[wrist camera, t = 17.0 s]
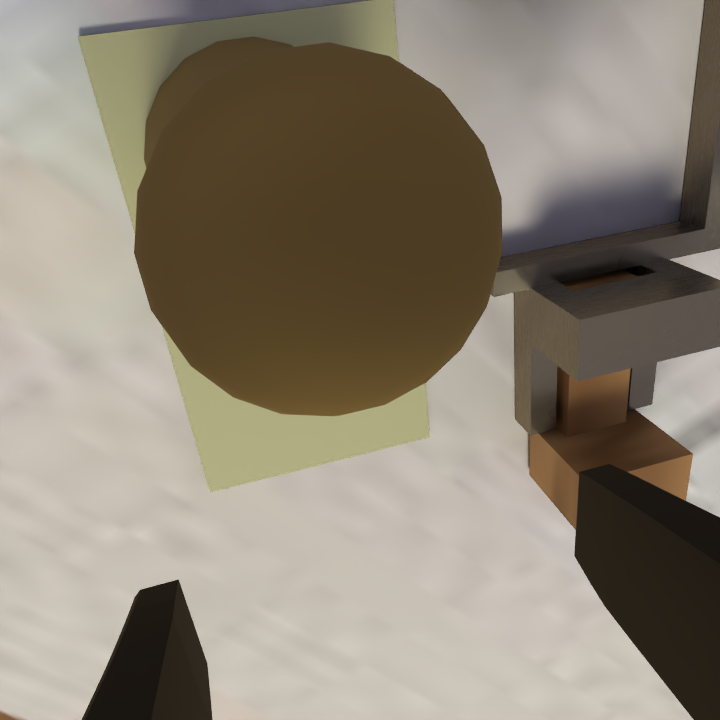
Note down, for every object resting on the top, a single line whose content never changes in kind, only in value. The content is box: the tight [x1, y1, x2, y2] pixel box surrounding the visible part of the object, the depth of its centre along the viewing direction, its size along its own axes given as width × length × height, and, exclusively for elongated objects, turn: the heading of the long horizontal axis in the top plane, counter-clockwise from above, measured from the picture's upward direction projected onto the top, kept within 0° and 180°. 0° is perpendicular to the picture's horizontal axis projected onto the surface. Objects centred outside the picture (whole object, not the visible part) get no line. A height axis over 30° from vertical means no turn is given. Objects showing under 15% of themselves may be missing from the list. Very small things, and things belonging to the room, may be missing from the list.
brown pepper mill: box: [134, 37, 502, 416], centre depth 12 cm, size 6×6×11 cm
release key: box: [529, 269, 693, 530], centre depth 22 cm, size 4×8×4 cm, turn 7°
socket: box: [491, 0, 720, 436], centre depth 19 cm, size 8×15×4 cm, turn 7°
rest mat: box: [78, 0, 430, 492], centre depth 19 cm, size 8×14×1 cm, turn 7°
